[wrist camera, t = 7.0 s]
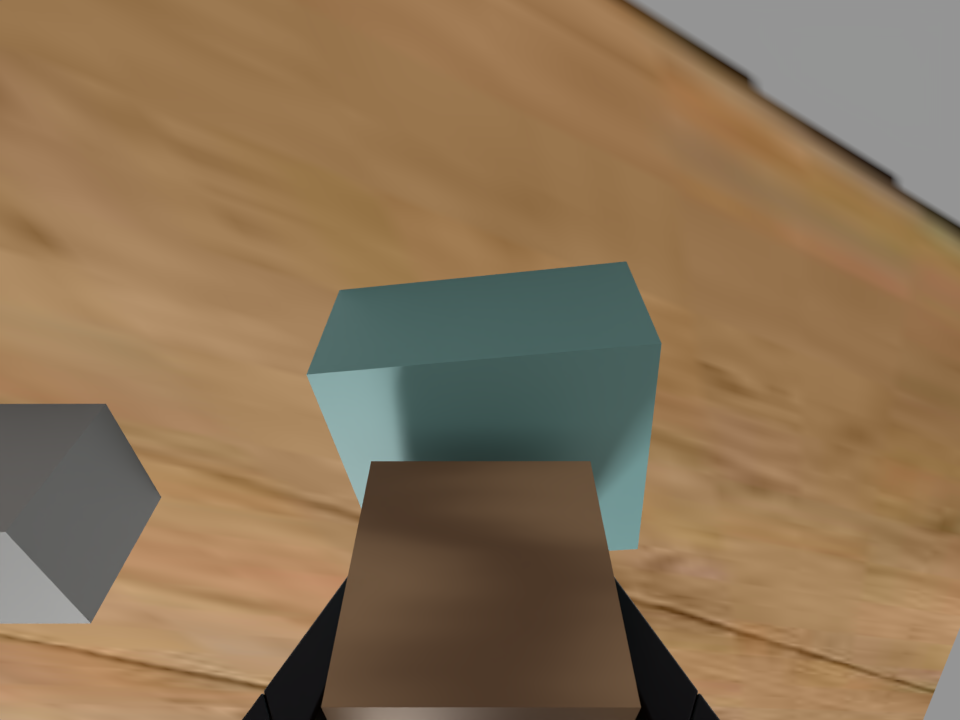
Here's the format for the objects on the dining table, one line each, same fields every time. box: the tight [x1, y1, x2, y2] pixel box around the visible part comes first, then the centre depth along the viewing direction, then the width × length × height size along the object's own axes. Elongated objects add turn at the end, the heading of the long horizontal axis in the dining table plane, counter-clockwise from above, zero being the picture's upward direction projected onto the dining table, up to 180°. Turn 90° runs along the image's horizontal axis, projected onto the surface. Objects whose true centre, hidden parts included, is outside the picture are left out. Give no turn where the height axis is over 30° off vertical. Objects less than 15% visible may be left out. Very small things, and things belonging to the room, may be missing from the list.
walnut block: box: [321, 461, 641, 720], centre depth 12 cm, size 5×5×5 cm
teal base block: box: [306, 261, 662, 551], centre depth 16 cm, size 8×8×4 cm
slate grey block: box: [0, 404, 161, 624], centre depth 18 cm, size 5×5×5 cm
